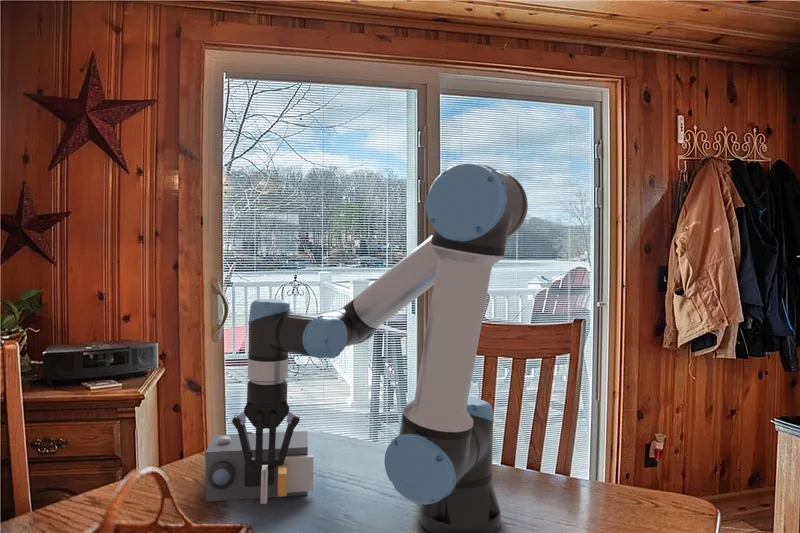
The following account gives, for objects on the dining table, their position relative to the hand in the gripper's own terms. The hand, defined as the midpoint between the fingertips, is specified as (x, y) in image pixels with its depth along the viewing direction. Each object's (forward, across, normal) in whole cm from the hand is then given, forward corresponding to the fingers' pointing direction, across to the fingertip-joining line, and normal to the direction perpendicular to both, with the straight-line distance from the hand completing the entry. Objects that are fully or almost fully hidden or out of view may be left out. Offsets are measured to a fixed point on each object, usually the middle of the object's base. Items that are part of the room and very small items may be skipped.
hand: (264, 500), depth 112 cm
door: (0, -6, -2) cm, 6 cm away
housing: (+2, +2, -10) cm, 10 cm away
